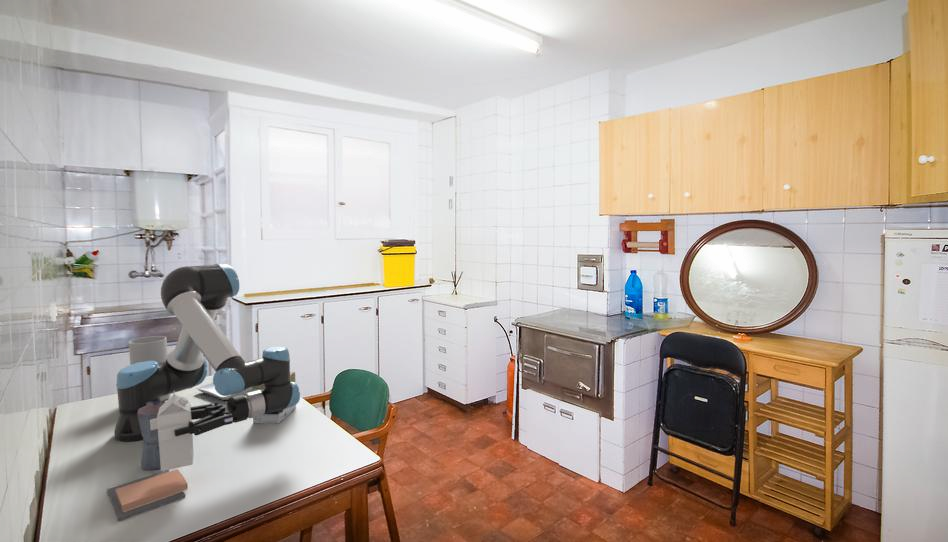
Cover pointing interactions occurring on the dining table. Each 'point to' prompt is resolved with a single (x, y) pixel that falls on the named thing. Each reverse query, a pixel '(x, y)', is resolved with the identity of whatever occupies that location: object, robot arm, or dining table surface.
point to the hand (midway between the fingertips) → (154, 430)
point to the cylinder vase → (149, 351)
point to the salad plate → (211, 391)
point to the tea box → (277, 415)
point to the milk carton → (177, 448)
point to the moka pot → (149, 435)
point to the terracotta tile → (151, 490)
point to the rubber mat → (141, 509)
